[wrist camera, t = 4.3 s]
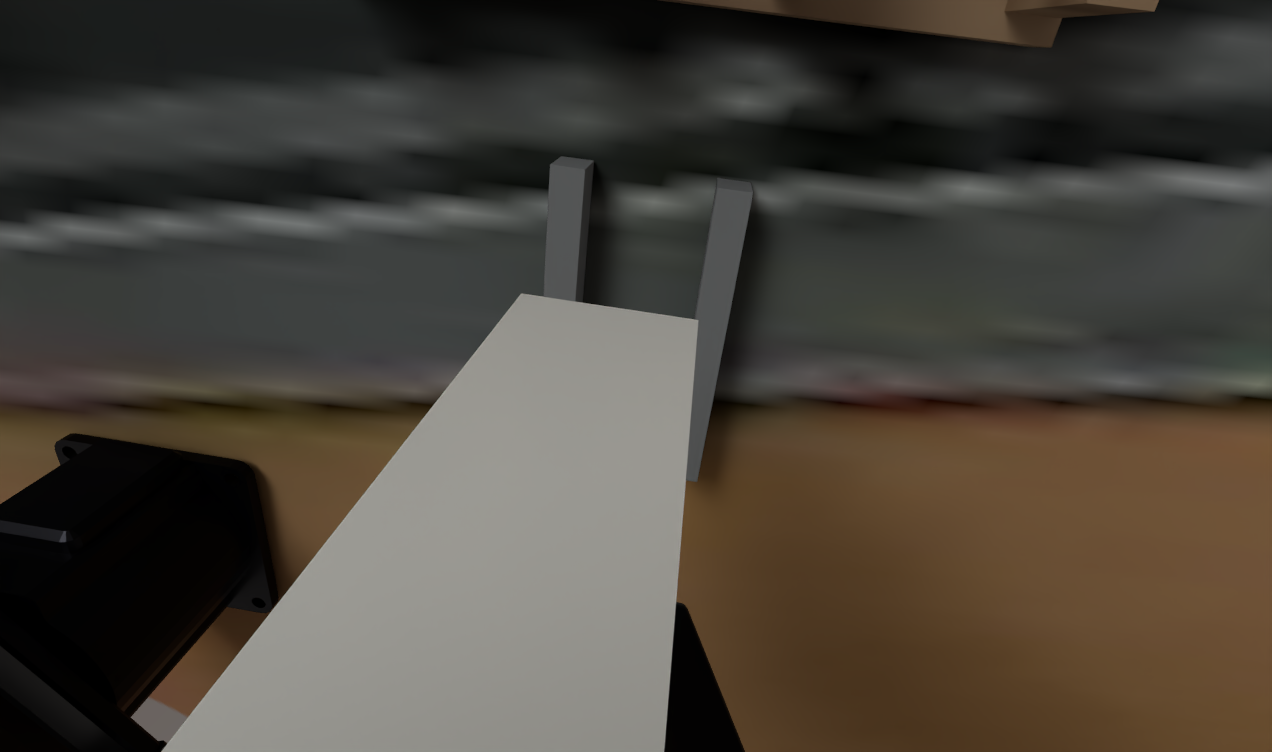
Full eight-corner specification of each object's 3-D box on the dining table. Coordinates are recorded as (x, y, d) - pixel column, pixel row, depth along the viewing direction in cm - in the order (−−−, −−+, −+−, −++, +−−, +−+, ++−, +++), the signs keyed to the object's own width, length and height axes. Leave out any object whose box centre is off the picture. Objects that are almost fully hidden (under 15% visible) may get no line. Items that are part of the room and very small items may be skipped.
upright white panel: (638, 672, 12) (561, 1259, 6) (509, 649, 12) (316, 1203, 6) (698, 320, 9) (656, 870, 3) (521, 293, 9) (144, 770, 3)
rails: (698, 457, 19) (696, 482, 18) (545, 433, 20) (535, 456, 18) (750, 182, 16) (753, 192, 15) (561, 156, 16) (549, 164, 15)
